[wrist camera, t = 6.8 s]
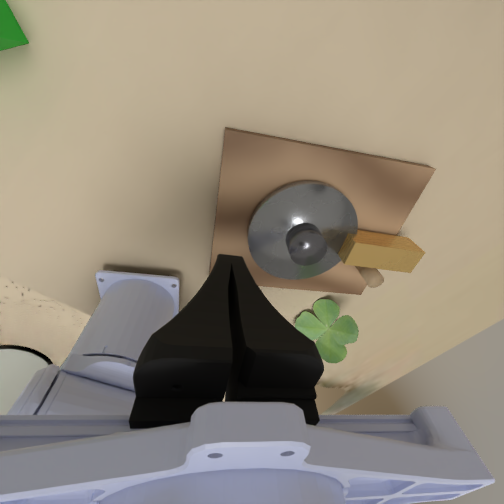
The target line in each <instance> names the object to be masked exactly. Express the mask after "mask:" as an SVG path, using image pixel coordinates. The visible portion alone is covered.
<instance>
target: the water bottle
mask: <svg viewBox="0 0 504 504" xmlns="http://www.w3.org/2000/svg"><path fill="white" fill-rule="evenodd" d="M51 364H53V362H52V361H51V360H50V358H48V357H47V356H46V355H44V354H43V353H41V352H39V351H37V350H34V349H31V348H28V347H24V346H18V345H0V415H7V413H8V412H9V410H10V409H11V407H12V406H13V404H14V403H15V401H16V400H17V399H18V397H19V396H20V394H21V393H22V391H23V390H24V388H25V387H26V386H27V384H28V383H29V381H30V380H31V378H32V377H33V376H34V374H35V373H36V372H37V371H38V370H41V369H43V368H47V367H48V366H49V365H51Z"/></svg>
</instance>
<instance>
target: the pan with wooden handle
mask: <svg viewBox="0 0 504 504" xmlns="http://www.w3.org/2000/svg"><path fill="white" fill-rule="evenodd" d="M248 245H249V250H250V253H251V256H252V258H253V260H254V261H255V262H256V264H257V265H258V266H259V267H260V268H261V269H263V270H264V271H265V272H267V273H269V274H270V275H273V276H275V277H278V278H282V279H290V280H298V279H306V278H311V277H314V276H317V275H320V274H322V273H324V272H326V271H328V270H329V269H331V268H332V267H334V266H335V265H337V264H338V263H339V262H340V261H341V260H342V262H343V263H344V264H345V265H352V266H360V267H368V268H376V269H384V270H392V271H400V272H408V273H411V272H412V270H413V269H414V267H415V266H416V265H417V263H418V262H419V261H420V259H421V258H422V257H423V255H424V254H425V252H424V251H423V250H422V249H421V248H419V247H418V246H417V245H416V244H415V243H414V242H413V241H412V240H410V239H409V238H407V237H401V236H394V235H388V234H382V233H375V232H369V231H362V230H358V219H357V214H356V211H355V209H354V207H353V205H352V203H351V202H350V201H349V200H348V198H347V197H346V196H345V195H344V194H343V193H342V192H340V191H339V190H338V189H336V188H335V187H333V186H331V185H329V184H327V183H323V182H320V181H312V180H309V181H298V182H293V183H289V184H287V185H284V186H282V187H280V188H278V189H276V190H274V191H273V192H271V193H270V194H269V195H267V196H266V197H265V198H264V199H263V200H262V201H261V202H260V203H259V205H258V206H257V207H256V209H255V210H254V212H253V214H252V216H251V218H250V221H249V225H248Z"/></svg>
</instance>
